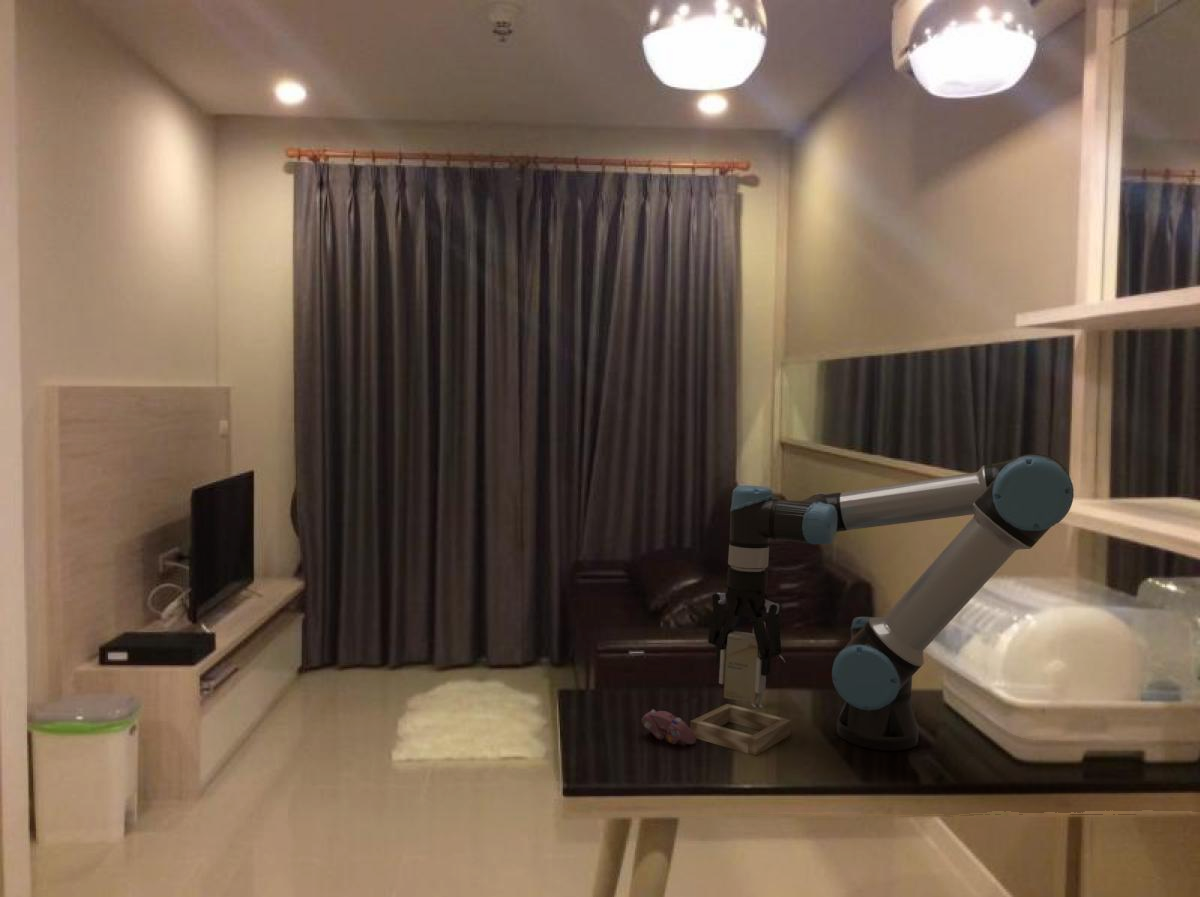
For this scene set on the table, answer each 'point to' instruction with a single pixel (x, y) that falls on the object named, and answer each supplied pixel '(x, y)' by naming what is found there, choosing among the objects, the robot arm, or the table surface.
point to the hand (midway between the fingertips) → (741, 686)
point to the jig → (769, 735)
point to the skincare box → (741, 666)
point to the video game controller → (668, 727)
